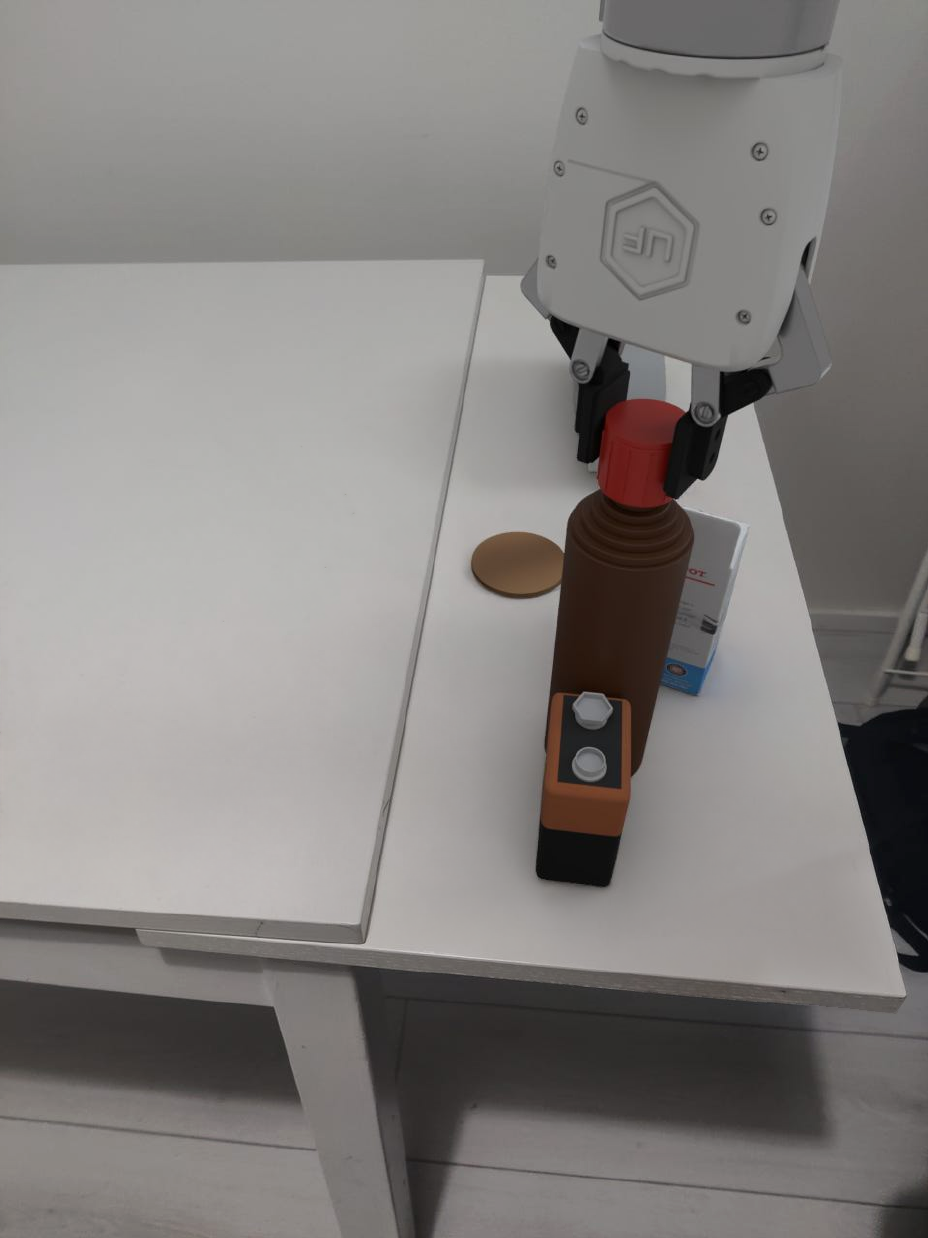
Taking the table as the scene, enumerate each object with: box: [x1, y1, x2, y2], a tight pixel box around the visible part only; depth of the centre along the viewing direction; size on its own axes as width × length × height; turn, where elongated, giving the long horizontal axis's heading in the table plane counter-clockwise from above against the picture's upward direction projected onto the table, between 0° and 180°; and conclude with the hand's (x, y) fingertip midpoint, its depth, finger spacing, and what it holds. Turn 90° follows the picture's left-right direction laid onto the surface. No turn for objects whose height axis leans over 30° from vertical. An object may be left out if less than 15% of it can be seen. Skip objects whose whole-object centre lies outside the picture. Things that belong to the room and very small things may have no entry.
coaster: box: [470, 531, 564, 599], centre depth 70 cm, size 8×8×1 cm
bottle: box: [543, 488, 695, 778], centre depth 49 cm, size 6×6×24 cm
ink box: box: [660, 505, 750, 696], centre depth 58 cm, size 8×5×15 cm, turn 63°
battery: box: [535, 692, 632, 888], centre depth 49 cm, size 4×7×10 cm, turn 172°
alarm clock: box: [572, 343, 667, 473], centre depth 81 cm, size 23×6×13 cm, turn 178°
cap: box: [596, 399, 687, 508], centre depth 41 cm, size 4×4×4 cm
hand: (641, 463), depth 41 cm, fingers closed on cap, 3 cm apart
